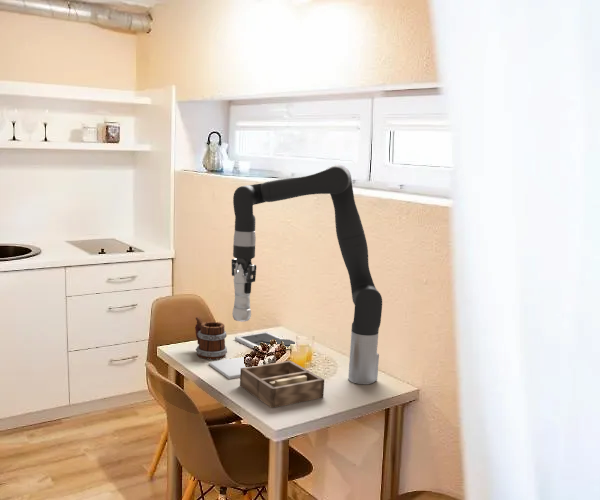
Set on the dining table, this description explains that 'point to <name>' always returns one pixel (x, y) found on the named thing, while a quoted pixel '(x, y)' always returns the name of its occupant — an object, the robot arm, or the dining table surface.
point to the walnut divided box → (259, 386)
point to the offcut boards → (288, 381)
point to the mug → (210, 339)
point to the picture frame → (261, 339)
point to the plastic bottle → (241, 299)
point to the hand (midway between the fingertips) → (242, 291)
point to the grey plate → (229, 367)
